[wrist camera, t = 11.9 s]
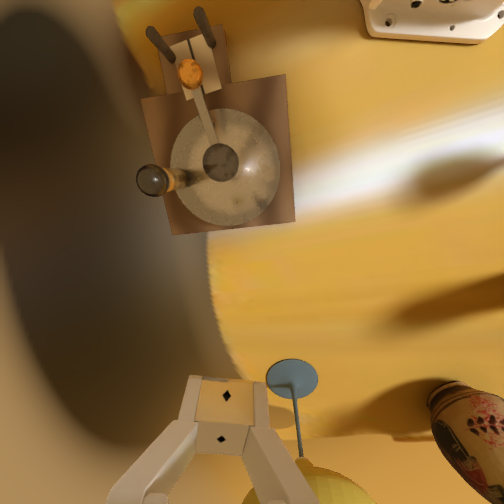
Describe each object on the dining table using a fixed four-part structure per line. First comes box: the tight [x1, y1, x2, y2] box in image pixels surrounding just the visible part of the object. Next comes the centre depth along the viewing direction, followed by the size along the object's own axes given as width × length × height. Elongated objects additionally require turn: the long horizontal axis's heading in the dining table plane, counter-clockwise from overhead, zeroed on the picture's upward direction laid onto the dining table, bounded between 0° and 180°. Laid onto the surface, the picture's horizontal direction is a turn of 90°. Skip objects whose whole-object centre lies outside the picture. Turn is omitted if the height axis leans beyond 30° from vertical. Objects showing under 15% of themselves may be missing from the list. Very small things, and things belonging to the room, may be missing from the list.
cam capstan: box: [136, 59, 280, 226], centre depth 29 cm, size 17×22×11 cm
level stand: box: [140, 6, 295, 235], centre depth 32 cm, size 20×26×8 cm
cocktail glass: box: [242, 359, 376, 504], centre depth 38 cm, size 18×18×25 cm
